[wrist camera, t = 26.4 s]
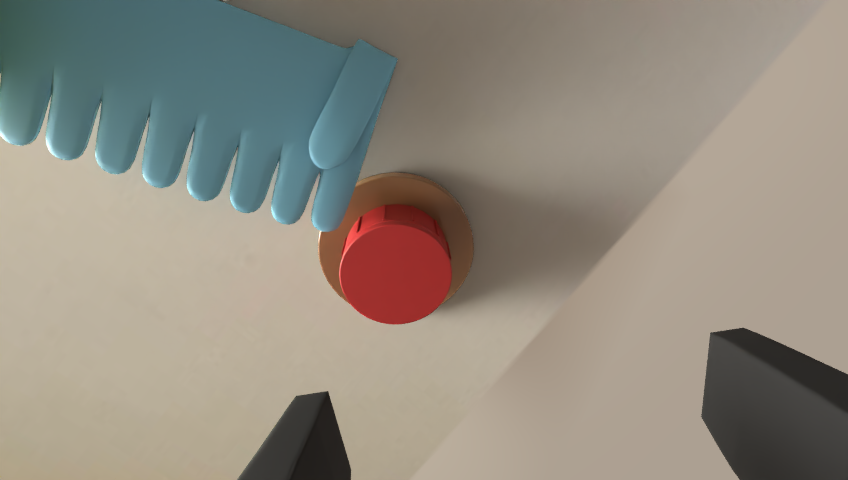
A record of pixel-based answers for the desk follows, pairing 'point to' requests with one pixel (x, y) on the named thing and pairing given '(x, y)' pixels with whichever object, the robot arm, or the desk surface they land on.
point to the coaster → (407, 193)
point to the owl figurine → (195, 97)
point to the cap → (395, 265)
